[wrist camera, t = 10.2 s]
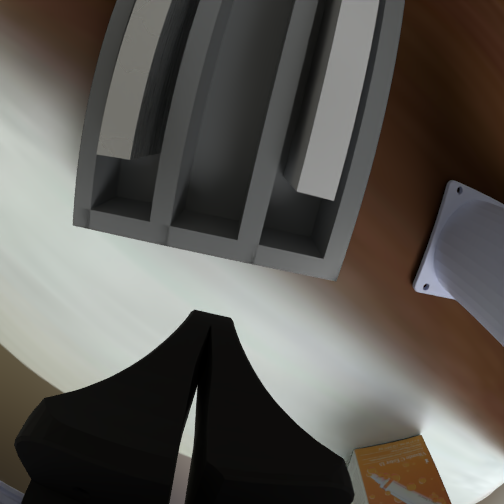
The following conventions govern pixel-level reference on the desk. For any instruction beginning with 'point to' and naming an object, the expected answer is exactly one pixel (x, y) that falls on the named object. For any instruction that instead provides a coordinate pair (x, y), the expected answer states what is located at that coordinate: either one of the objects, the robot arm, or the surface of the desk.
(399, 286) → the desk surface
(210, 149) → the rack
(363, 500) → the small box
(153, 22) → the panel
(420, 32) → the desk surface
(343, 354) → the desk surface
